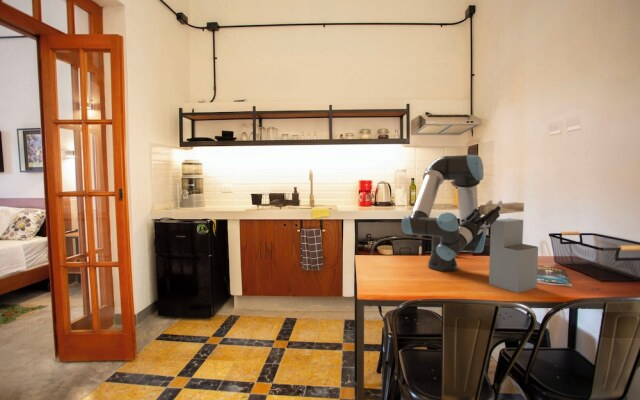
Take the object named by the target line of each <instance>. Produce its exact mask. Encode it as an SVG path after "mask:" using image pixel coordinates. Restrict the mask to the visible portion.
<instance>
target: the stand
mask: <svg viewBox="0 0 640 400" xmlns="http://www.w3.org/2000/svg"><path fill="white" fill-rule="evenodd" d="M489 235H490V240H489V241H490V242H489V243H490V244H489V267H488V269H489V270H488V271H489V272H488V285H490V286H494V287H498V288H501V289H504V290H506V291H507V290H508V291H511V292H513V293H516V294H519V293H523V292H526V291H530V290H533V288H534V289H536V288H537V287H538V286H537V284H538V283H537V282H538V262H539V261H538V260H539V247H538V246H537V245H531V244H526V243H525V244H524V242H523V240H524V239H523V237H524V219H521V218H518V219H517V218H511V217H510V218H509V217H508V218H500V219H498V218H497V219H496V221H495V222H494V223H493V224H492V225H491V227H490V234H489Z"/></svg>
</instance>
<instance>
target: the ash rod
mask: <svg viewBox="0 0 640 400" xmlns="http://www.w3.org/2000/svg"><path fill="white" fill-rule="evenodd" d="M496 204H497V203H493V204H489V205H485V204H480V205H479V207H480V214H482V215H481V216H484V215H486V214H487V213H489V212H490V211H492V208H493V207H494V206H495V205H496ZM502 204H503V207H502V208H501V210H500V211H499V215H501V214H513V213H520V212H525V211H524V210H525V209H524V208H525V203H524V202H518V201H517V202H516V201H514V202H513V201H512V202H502Z"/></svg>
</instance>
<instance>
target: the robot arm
mask: <svg viewBox="0 0 640 400" xmlns="http://www.w3.org/2000/svg"><path fill="white" fill-rule="evenodd" d="M484 174H485V173H484V165H483V160H482V158H481V157H480V155H477V154H464V155H444V156H440V157H438V158H436V159H434V161H432V162H431V163H430V164H428V166H427V167H426V168H425V170H424V172H423V175H422V183H421V185H420V186H421V187H420V189H419V192H418V194H417V197H416V200H415V202H414V205H413V208H412V210H411V213H410V215H406V216H404V217H402V220H401V231H402V232H403V233H404V234H407V235H411V236H414V235H415V236H426V237H427V236H428V237H431V252H430V253H431V254H430V257H429V259H428V262H427V267H428V268H429V269H431V270H435V271H440V272H455V271H456V270H458V262H457V260H456V259H457V258H456V257H457V256H458V254H460V252H466V253H474V254H475V253H477V254H479V253H483V251H484V248H485V247H484V246H485V244H486V243H485V241H486V237H487V236H486V235H487V232H486V231H485V230H483V228H486V229H488V230H490V229H491V225H492V224H493V223H494V222H495V221H496V220H498V218H500V215H501V214H499V211H500V210H501V208H502V207H503V204H502V203H503V201H502V200H499V201H498V202H497V203H495V204H496V205H495V206H494V207H493V208H492V211H490V212H489V213H487V214H486V215H482V214H480V206H478V204H479V202H478V186H479V185H480V183H481V181H482V180H483V179H484ZM444 181H453V186H455V187H456V188H457V189H456V190H457V201H458V212H459V222H458V217H457V216H456V215H455V214H454V213H452V212H444V213H440V214H439V215H438V216H437V217H430V216H431V213H432V211H433V210H432V209H433V207H434V205H435V201H436V198H437V194H438V192H439V188H440V186H441V185H442V184H443V183H444ZM489 204H494V202H493V200H492V199H489V201H488V202H486V203H485V204H484V205H489Z"/></svg>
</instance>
